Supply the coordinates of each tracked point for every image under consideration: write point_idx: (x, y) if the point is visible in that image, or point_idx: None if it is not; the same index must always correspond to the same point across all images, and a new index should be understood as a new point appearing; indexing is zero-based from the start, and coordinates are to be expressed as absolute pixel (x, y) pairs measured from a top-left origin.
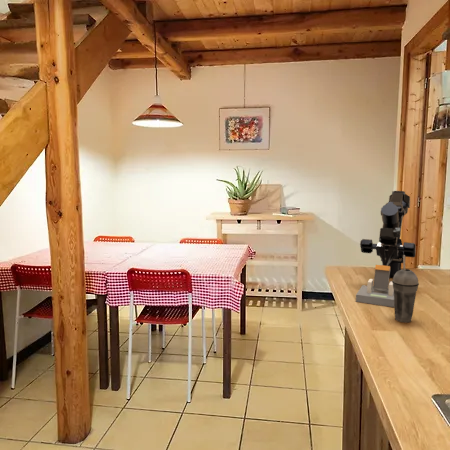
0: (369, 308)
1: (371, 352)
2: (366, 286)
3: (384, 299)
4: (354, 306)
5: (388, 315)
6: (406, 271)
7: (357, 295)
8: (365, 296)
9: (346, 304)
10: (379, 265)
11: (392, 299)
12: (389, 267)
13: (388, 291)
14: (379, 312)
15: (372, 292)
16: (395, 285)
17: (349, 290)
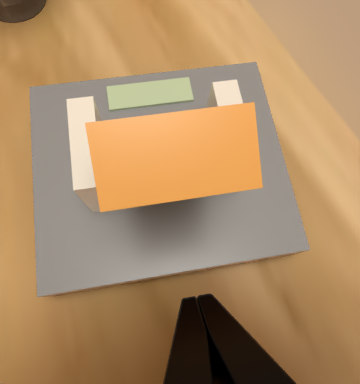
0: (164, 42)
1: None
2: (275, 233)
3: (113, 81)
4: (225, 32)
5: (75, 11)
6: None
7: (247, 65)
8: (208, 69)
9: (262, 37)
10: (208, 109)
11: (72, 85)
12: (90, 125)
13: (124, 210)
14: (115, 22)
15: None
16: None
17: (356, 234)
